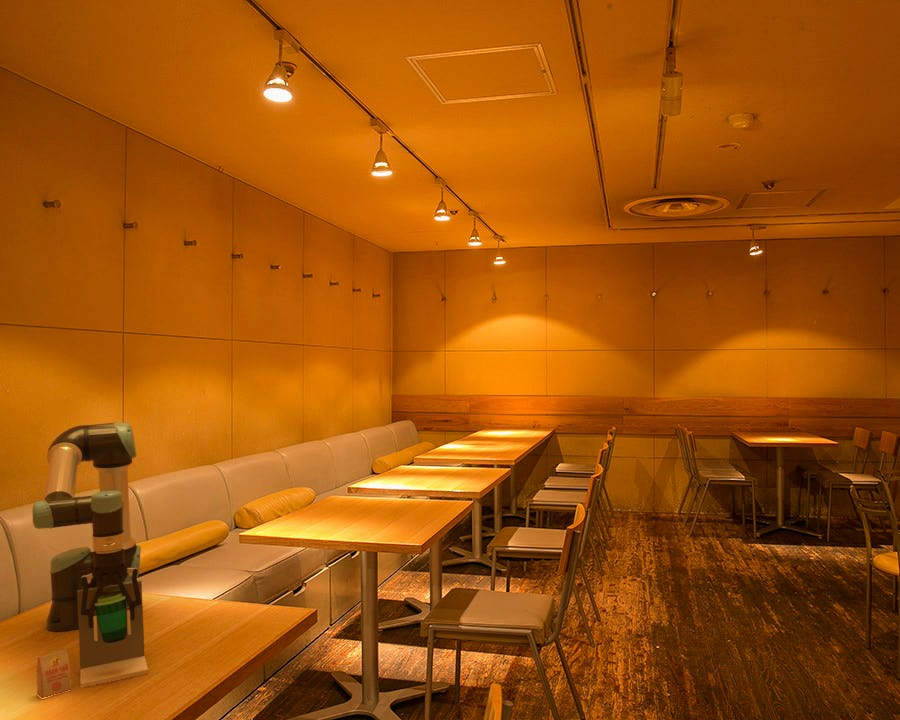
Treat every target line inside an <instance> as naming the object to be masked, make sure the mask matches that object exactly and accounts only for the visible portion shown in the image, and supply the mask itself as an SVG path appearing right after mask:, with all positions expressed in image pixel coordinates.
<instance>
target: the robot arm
mask: <svg viewBox="0 0 900 720" xmlns="http://www.w3.org/2000/svg"><path fill="white" fill-rule="evenodd" d="M46 455H47V456H46V460H47V463H48V465H49V466H48V472H47V478H46V484H45V490H44V496H43V499H41V500H37V501H35V502H34V503H33V504H32V523H33V527H34V528H35V529H38V530H39V529H40V530H42V529H43V530H44V529H51V530H52V529H54V528H62V527H68V526H70V527H71V526H80V525H81V526H82V525H88V524H91V526H92V547H93V548H92V549H93V551H91V548H90V547H89V546H87V547H86V546H85V547H83V546H81V547H77V548H72V549H69V550H66V551H62V552H59V553H58V554H56V555H55V556H53V557H52V558H51V560H50V571H49V573H50V582H51V583H50V584H51V586H50V587H51V605H50V608H49V612H48V615H47V619H46V629H47V630H49V631H52V632H66V631H74V630H77V629H78V630H79V624H78V601H77V590H83V592H82V602H81V615H87V616H88V618H89V628H94V641H98V637H97V615H96V613H94V611H95V609H96V606H95V603H98V597H100V595H101V592H102V590H103V587H107V586H110V585H117V584H118V586H119V588H120V590H121V592H122V594H123V596H125V600H126V602H127V604H128V606H129V607H127V633H128V635H130V634H131V625H130V621H132V620H134V619H135V611H134V609H135V607H136V606H138V605H141V597H140V592H139V587H138V582H137V581H138V578H139V574H140V573H139V572H140V564H141V554H142V553H141V551H142V550H141V548H142V547H141V545H138V544H136V543H137V541H136V540H135V539H134V538H133V537H131V519H130V517H131V516H130V514H131V513H130V498H129V497H130V496H129V473H128V468H129V467H130V466H131V465H132V464H133V459H135V458H136V457H137V455H138V453H137V449H136V442H135V437H134V432H133V429H132V426H131V424H129V423H128V422H109V423H108V422H107V423H97V424H86V425H85V424H81V425H76V426H73V427H70V428H68V429H67V430H64V431H63V432H62V433H60V434H59V435H58V436H57V437H55V439H54V440H53V441H52V442H51V444H50V445H49V447H48V450H47V453H46ZM82 462H92V468H94V469H95V470H97V471H98V486H99V491H98V492H95V493H93V494H91V495H85V496H75V493H76V486H77V485H76V484H77V475H78V474H77V473H78V466H79V464H80V463H82ZM126 582H132V583H133V588H134V593H135V598H136V600H135V601H132V599H131V597H130V595H129V593H128V591H127V589H126V587H125V585H124V583H126ZM95 587H97V589H96V592H95V594H94V597H93V600H92V603H91V605H90V608H89V609H86V605H87V596H88V589H89V588H95Z"/></svg>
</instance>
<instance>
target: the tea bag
mask: <svg viewBox="0 0 900 720" xmlns="http://www.w3.org/2000/svg"><path fill="white" fill-rule="evenodd" d="M36 663H37V664H36V671H35V674H36V693H37V694H38V695H39V696H40V697H41V698H44V697H48V696H51V695H54V694H58V693H61V694H63V693H62V692H65V691H68V690H71V691H72V688H71V687H72V686H71V668H70V667H71V666H70V661H69V654H68V649H64V650H60V651H55V652H53V653H50V654H46V655H42V656H39V657H37V661H36ZM68 692H69V691H68ZM65 693H66V692H65ZM37 694H36V695H37ZM58 695H59V694H58Z"/></svg>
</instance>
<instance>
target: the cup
mask: <svg viewBox="0 0 900 720" xmlns="http://www.w3.org/2000/svg"><path fill="white" fill-rule="evenodd" d="M95 606H96V609H95V610H96V615H97V620H98V624H99V628H100V632H101V634H102V638H103V641H104V642H106V643H112V642H117V641H120V640H123V639H125V637H126V635H127V607H126V600H125V596H123V594H122V592H121V590H109V591H104V592H101V595H100V597H98V603H95Z"/></svg>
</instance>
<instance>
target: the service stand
mask: <svg viewBox="0 0 900 720" xmlns="http://www.w3.org/2000/svg"><path fill="white" fill-rule="evenodd" d="M137 582H138V587H139V592H140V597H141V605H138V606H136V607H135V609H134V611H135V619H134V620H132V621H130V625H131V634H130V635H128V633H127V635H126V637H125V639H123V640H120V641H117V642H112V643H106V642H104V641H103V638H102V634H101V632H100V628H99V624H98V620H97V637H98V641H94V628H89V618H88V616H87V615H81V602H82V592H83V590H77V601H78V624H79V629H78V643H79V645H78V647H79V666H80V670H79V671H80V689H84V687H85V688H88V687H87V686H90V687H92V686H91V685H94V686H97V685H96V684H99V685H102V684H101V683H104V684H108V683H112V682H111V681H113V682H117V681H122V680H127V679H130V677H131V678H136V677H139V676H143V675H144V676H145V675H148V674H149V669H148V664H147V660H146V655H145V635H144V634H145V631H144V612H143V611H144V609H143V591H142V590H143V588H142V586H143V585H142V583H143V582H142V580H137ZM124 585H125V587H126V589H127V591H128V593H129V595H130V597H131V599H132V601H135V600H136V598H135V593H134V588H133V583H132V582H126V583H124ZM96 589H97V587H95V588H89V589H88V596H87V605H86V609H89V608H90V605H91V603H92V600H93V597H94V594H95V592H96ZM109 590H120V588H119V586H118V584H117V585H110V586H107V587H103V590H102V592H104V591H109ZM126 607H129V606H128V604H127V602H126ZM94 613H96V610H95V611H94ZM126 678H127V679H126ZM121 679H122V680H121ZM116 680H117V681H116ZM107 682H108V683H107Z"/></svg>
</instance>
